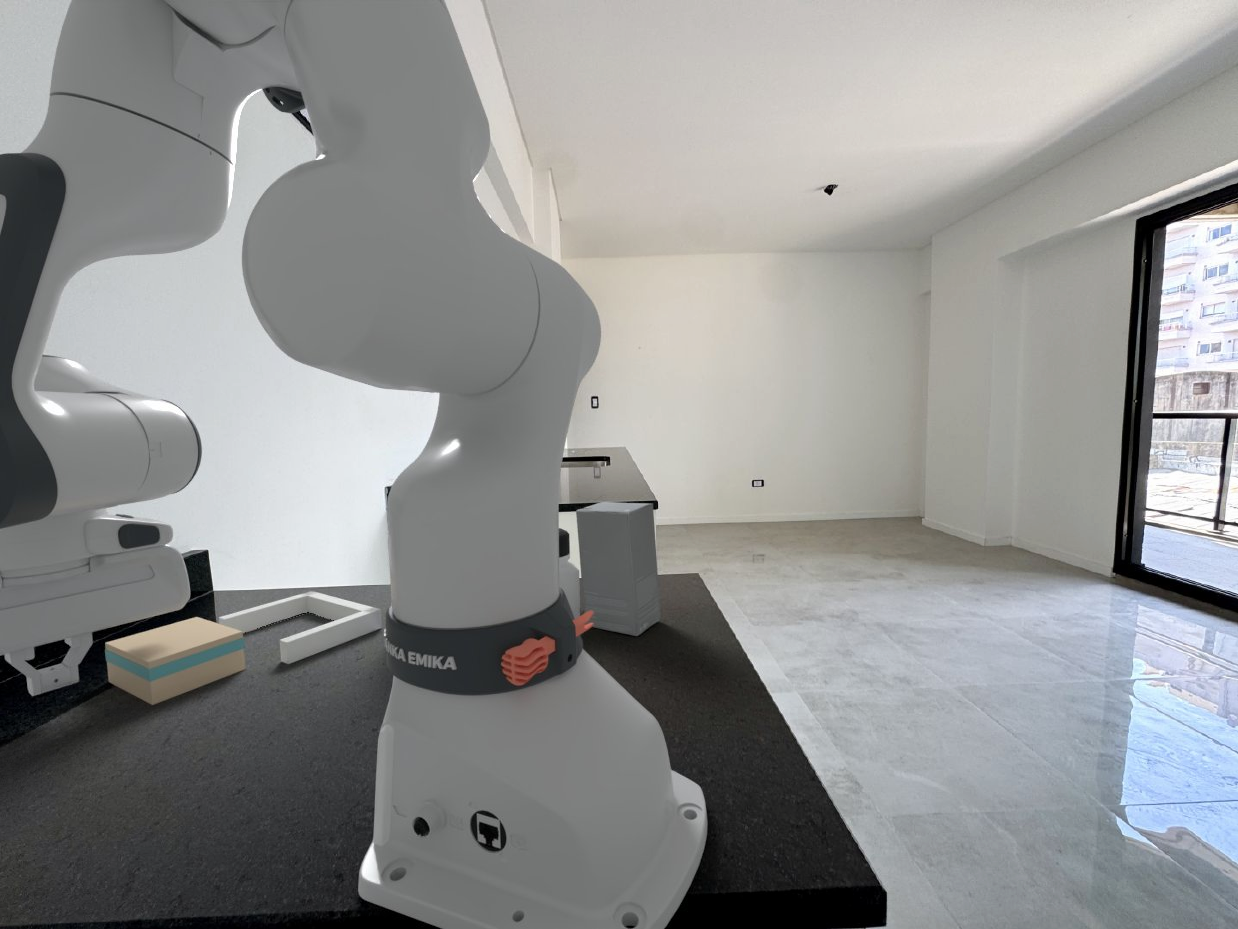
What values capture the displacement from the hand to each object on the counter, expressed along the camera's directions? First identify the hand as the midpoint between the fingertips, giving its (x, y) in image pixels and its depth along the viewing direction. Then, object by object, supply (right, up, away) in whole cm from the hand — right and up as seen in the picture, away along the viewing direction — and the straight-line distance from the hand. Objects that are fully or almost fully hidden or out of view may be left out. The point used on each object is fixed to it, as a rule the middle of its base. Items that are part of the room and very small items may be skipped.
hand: (54, 687), depth 47 cm
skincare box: (+52, -1, +20) cm, 56 cm away
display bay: (+11, -1, +18) cm, 21 cm away
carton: (+5, -2, +8) cm, 9 cm away
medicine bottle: (+42, 0, +23) cm, 48 cm away
